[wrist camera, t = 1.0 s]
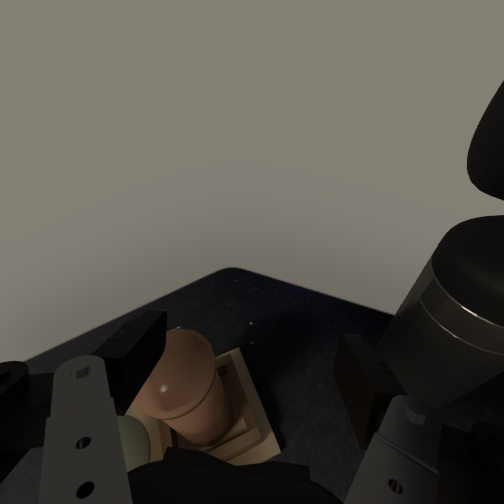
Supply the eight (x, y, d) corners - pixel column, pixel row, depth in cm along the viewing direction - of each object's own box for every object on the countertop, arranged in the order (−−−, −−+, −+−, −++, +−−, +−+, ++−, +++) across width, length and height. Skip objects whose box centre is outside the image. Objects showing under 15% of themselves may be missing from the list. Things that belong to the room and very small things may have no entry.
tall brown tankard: (220, 364, 33) (197, 301, 23) (243, 433, 27) (226, 391, 17) (172, 385, 31) (124, 328, 21) (186, 463, 26) (132, 435, 16)
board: (239, 350, 35) (236, 338, 32) (280, 453, 27) (281, 447, 24) (62, 428, 30) (42, 421, 27) (47, 584, 22) (18, 593, 19)
